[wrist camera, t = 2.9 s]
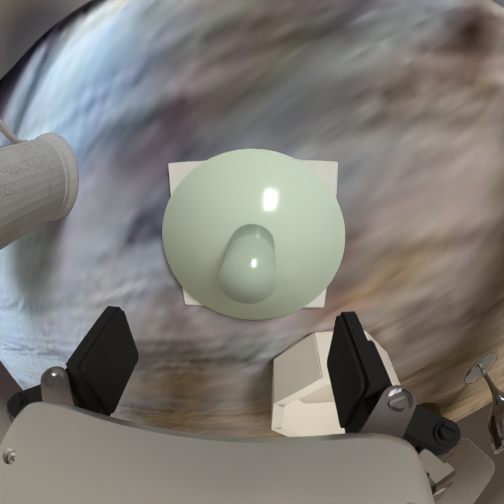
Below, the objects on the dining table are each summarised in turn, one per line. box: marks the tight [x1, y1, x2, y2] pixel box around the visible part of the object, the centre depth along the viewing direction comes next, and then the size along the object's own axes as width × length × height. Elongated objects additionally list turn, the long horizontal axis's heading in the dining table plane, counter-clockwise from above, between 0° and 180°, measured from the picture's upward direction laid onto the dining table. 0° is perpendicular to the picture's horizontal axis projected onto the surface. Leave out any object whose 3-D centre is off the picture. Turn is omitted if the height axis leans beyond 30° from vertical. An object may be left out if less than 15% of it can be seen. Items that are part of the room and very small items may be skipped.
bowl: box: [271, 330, 400, 437], centre depth 24 cm, size 12×12×6 cm
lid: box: [162, 148, 345, 320], centre depth 18 cm, size 14×14×6 cm
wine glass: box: [465, 352, 504, 454], centre depth 21 cm, size 8×8×15 cm
